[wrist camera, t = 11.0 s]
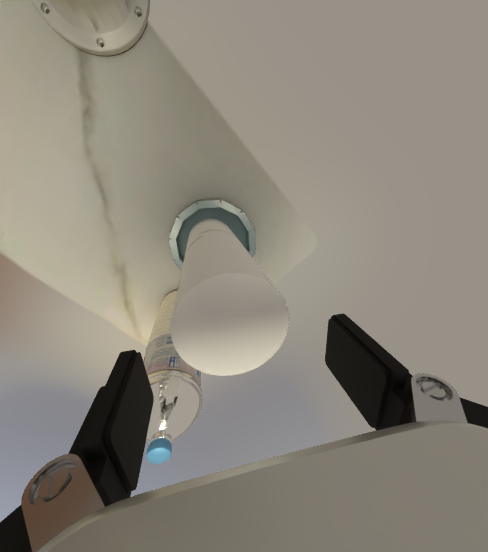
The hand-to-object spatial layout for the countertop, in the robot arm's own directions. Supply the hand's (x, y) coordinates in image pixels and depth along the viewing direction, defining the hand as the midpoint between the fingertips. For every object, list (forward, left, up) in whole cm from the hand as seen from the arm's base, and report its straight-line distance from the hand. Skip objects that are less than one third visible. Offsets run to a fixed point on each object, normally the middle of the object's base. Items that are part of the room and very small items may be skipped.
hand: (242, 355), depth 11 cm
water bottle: (+11, -7, -29) cm, 32 cm away
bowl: (0, 0, -29) cm, 29 cm away
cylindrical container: (0, 0, -28) cm, 28 cm away
